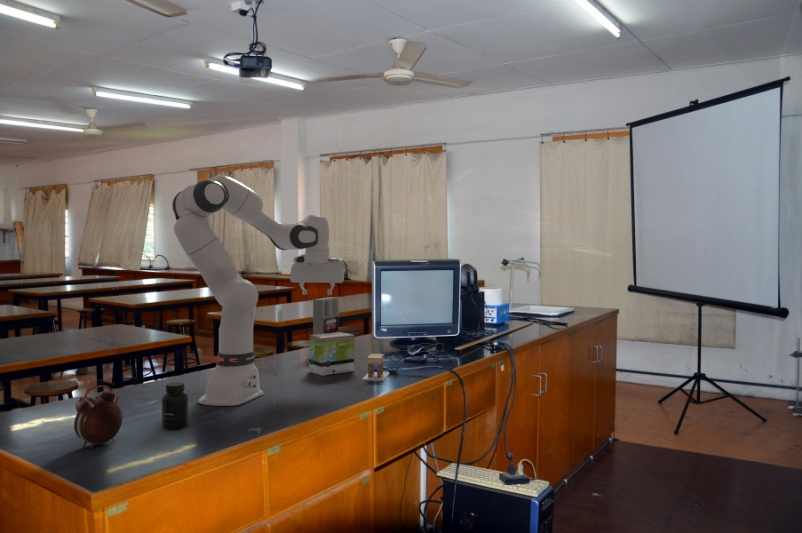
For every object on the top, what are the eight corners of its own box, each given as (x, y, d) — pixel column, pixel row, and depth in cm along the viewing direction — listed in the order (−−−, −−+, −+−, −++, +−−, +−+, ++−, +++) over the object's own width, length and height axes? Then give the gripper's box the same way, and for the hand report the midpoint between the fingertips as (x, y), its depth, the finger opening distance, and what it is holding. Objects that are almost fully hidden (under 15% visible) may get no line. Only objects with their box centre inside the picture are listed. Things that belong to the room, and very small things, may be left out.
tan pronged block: (380, 377, 226) (380, 357, 226) (367, 377, 227) (367, 357, 226) (383, 373, 233) (383, 354, 233) (370, 373, 234) (370, 353, 233)
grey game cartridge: (324, 356, 270) (324, 300, 269) (312, 355, 272) (312, 299, 271) (340, 351, 282) (340, 297, 281) (329, 350, 285) (329, 297, 284)
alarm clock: (112, 437, 159) (111, 380, 158) (124, 440, 156) (123, 382, 156) (72, 449, 149) (71, 389, 149) (84, 453, 147) (82, 391, 146)
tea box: (323, 376, 230) (323, 338, 229) (308, 372, 238) (308, 334, 237) (355, 371, 240) (355, 334, 239) (340, 367, 248) (340, 331, 247)
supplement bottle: (162, 432, 163) (161, 387, 163) (161, 424, 169) (160, 382, 169) (189, 429, 166) (188, 385, 165) (187, 422, 172) (186, 380, 172)
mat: (383, 381, 223) (383, 379, 223) (362, 380, 224) (362, 378, 224) (389, 374, 235) (389, 372, 235) (369, 373, 236) (369, 371, 236)
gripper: (345, 258, 234) (345, 294, 234) (292, 257, 234) (292, 293, 234) (343, 258, 227) (343, 295, 228) (289, 258, 227) (289, 295, 228)
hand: (317, 294), depth 231 cm, fingers open, 8 cm apart
